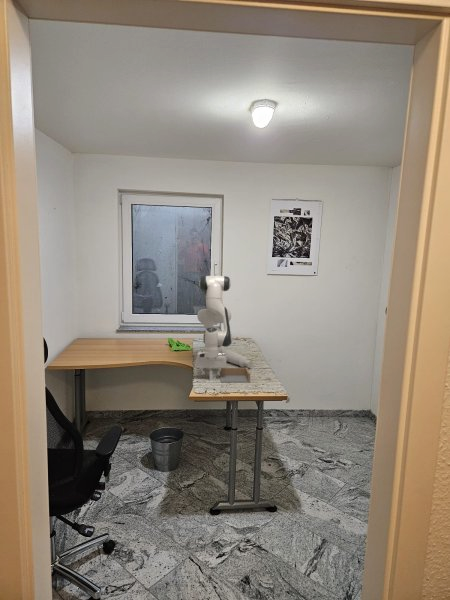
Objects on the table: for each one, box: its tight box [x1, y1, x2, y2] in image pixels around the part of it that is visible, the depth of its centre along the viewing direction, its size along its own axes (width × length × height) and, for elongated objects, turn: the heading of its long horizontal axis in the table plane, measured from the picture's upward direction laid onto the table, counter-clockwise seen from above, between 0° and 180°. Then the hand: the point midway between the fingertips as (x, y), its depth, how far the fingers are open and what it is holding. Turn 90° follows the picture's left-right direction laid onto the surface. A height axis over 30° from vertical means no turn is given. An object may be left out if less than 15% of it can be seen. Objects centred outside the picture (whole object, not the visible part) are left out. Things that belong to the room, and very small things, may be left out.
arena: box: [219, 367, 251, 384], centre depth 231 cm, size 13×18×6 cm
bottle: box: [221, 348, 253, 369], centre depth 264 cm, size 9×9×30 cm
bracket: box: [208, 368, 217, 381], centre depth 232 cm, size 9×4×6 cm, turn 5°
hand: (210, 374), depth 232 cm, fingers open, 8 cm apart
